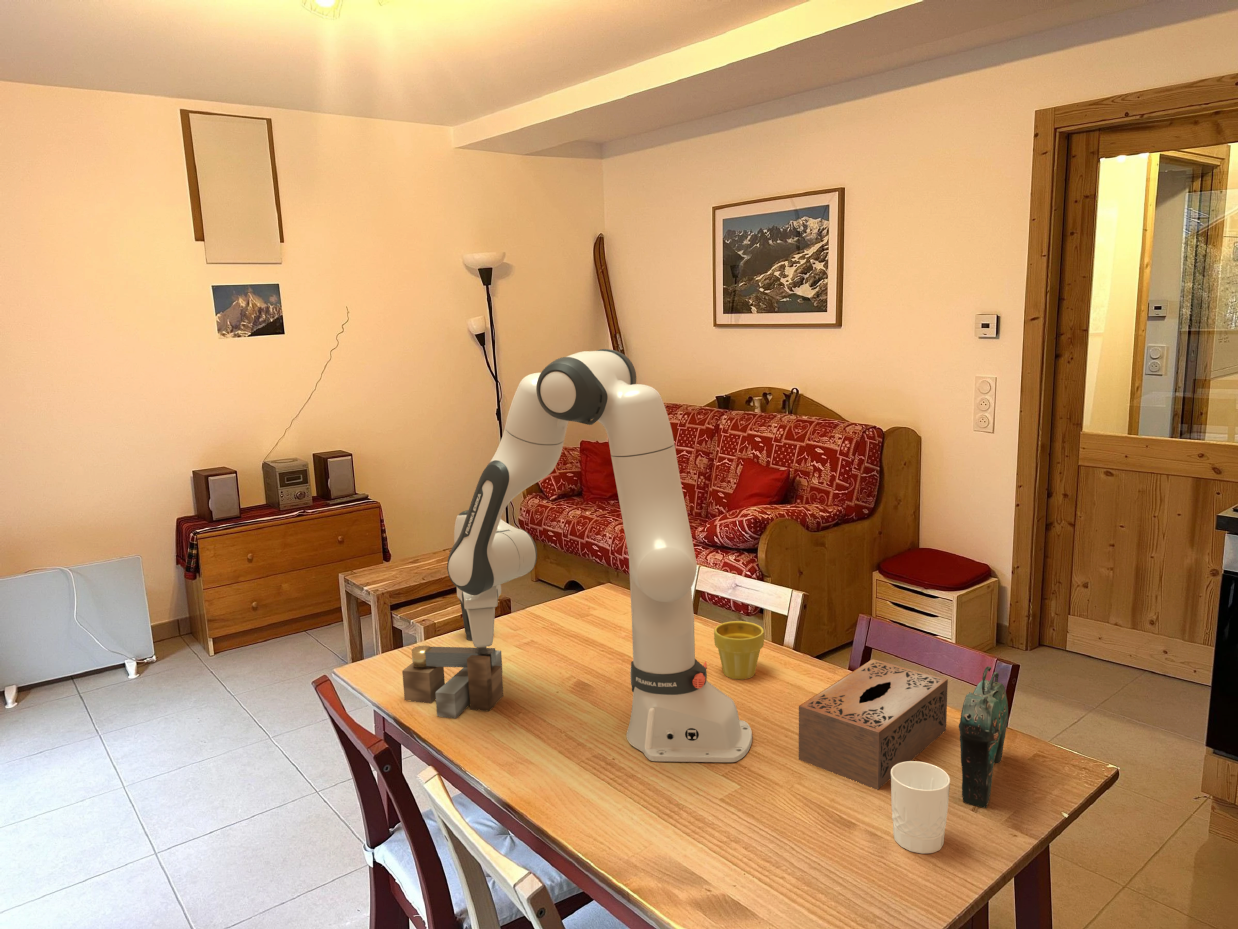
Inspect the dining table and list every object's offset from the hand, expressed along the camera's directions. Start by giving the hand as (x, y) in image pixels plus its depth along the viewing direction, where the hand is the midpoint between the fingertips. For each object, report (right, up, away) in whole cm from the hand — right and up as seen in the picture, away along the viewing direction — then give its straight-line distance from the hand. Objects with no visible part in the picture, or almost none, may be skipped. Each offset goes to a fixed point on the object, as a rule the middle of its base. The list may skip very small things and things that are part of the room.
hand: (481, 651), depth 173 cm
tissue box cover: (+73, -11, -25) cm, 78 cm away
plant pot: (+53, -6, +6) cm, 54 cm away
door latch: (-5, -9, +2) cm, 10 cm away
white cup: (+71, -16, -52) cm, 89 cm away
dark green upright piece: (+86, -13, -37) cm, 95 cm away
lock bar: (-6, -2, -2) cm, 6 cm away
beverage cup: (-7, -4, +32) cm, 33 cm away
